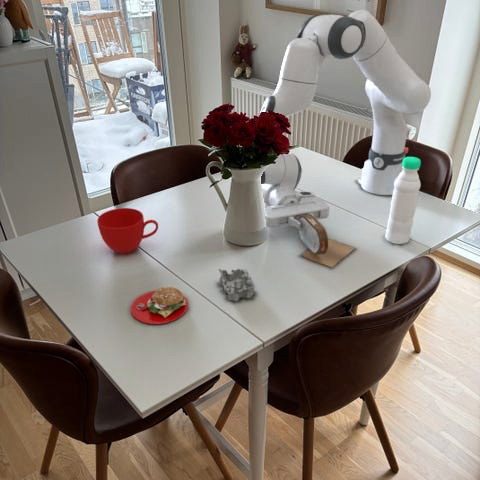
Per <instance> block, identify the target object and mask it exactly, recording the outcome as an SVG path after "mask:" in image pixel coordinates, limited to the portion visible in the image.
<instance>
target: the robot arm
mask: <svg viewBox="0 0 480 480" xmlns="http://www.w3.org/2000/svg"><path fill="white" fill-rule="evenodd" d="M393 45H394V44H393V43H392V42H391V40H390V38H389V36H388V35H387V33H386V32H385V30H384V27H382V26H381V24H380V23H379V21H378V20H377V19H376V18H375V17H374V16H373V15H372V13H370V11H368V10H367V9H357V10H355V11H353V12H351V13H350V14H348V15H345V16H344V15H340V14H315V15H311V16H310V17H308V18H306V19H305V20H304V21H303V23H302V25H301V27H300V29H299V31H298V34H297V36H296V38H294V39H293V40H291V41H290V42H289V44H288V45H287V47H286V50H285V52H284V56H283V60H282V63H281V67H280V72H279V77H278V82H277V86H276V87H275V89H274V91H273V93H272V94H271V95H270V96H268V97H267V98H266V99H265V100H264V102H263V104H262V106H261V109H260V113H261V112H267V111H268V110H272V111H273V112H275V113H279V114H282V115H284V116H286V117H285V118H287V117H290V116H293V115H296V114H300V113H301V112H303V111H304V110H306V109H307V108H308V107H309V106H310V105H311V104H312V103H313V100H314V98H315V96H316V95H315V94H316V90H317V85H318V79H319V72H320V69H321V65H322V64H323V62H324V60H325V59H337V60H347V59H349V58H353V60H354V62H355V63H356V65H357V67H358V68H359V70H360V71H361V73H362V74H363V75H364V77H365V78H366V81H365V85H364V86H365V87H364V89H365V93H366V95H367V97H368V99H369V102H370V106H371V111H372V119H373V132H372V141H371V147H370V148H369V151H368V159H366V160H365V161H364V165H363V168H361V171H362V173H361V177H359V178H358V179H357V183H358V184H359V185H361V189H362V190H364V191H366V192H367V193H370V194H373V195H379V196H392V195H393V191H394V188H395V187H394V183H395V180H396V179H397V177H398V176H399V174H400V173H401V172H402V171H403V168H402V162H403V159H404V158H406V154H408V152H409V147H406V142H407V136H408V125H407V123H406V121H405V119H404V115H403V114H405V115H417V114H420V113H422V112H424V110H426V108H427V107H428V105H429V104H430V101H431V97H432V91H431V90H432V89H431V87H430V86H429V84H427V83H426V82H425V81H424V80H423V79H421V78H420V77H419V76H418V75H417V74H416V72H415V71H414V70H413V68H411V66H410V65H408V63H406V61H405V60H404V59H403V58H402V57H401V56H400V55H399V53H398V52H397V50H396V49H395V47H394V46H393ZM260 113H259V114H260ZM302 169H303V168H302V164H301V162H300V160H299V158H298V157H297V156H296V155H295V154H294V153H288V154H283V155H280V156H279V157H278V158H277V159H276V163H275V164H271V165H269V166H268V167H267V168H266V169H265V171H264V172H263V174H262V176H261V185H262V191H263V198H264V201H263V202H264V203H265V204H266V207H264V208H265V215H266V216H265V219H266V224H265V226H266V227H267V228H269V229H275V228H280V227H285V226H291V227H295V228H296V229H297V230H298V229H299V228H303V222H301V220H300V221H299V218H300V216H302V215H307V214H312V215H313V216H314V217H315V218H316V220H317V221H319V220H323V219H327V218H329V215H330V206H329V204H328V203H327V202H325V201H324V200H323V199H322V198H321V197H317V196H316V195H315V193H314V192H313V191H299V190H296V189H297V187H298V185H299V183H300V181H301V178H302V173H303V170H302Z"/></svg>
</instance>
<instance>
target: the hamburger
mask: <svg viewBox="0 0 480 480" xmlns="http://www.w3.org/2000/svg"><path fill="white" fill-rule="evenodd" d="M188 308H189V301H188V299H187V298H186V296H184V295H183V292H182V291H181V290H180V289H179V288H176V287H174V286H162V287H160V288H157V289H156V290H152V291H149V292H146V293H144V294H143V293H142V294H141V295H139V296H138V297H137V298H136V299H135V300H133V302H132V304H131V306H130V312H131V315H132V317H134V318H135V319H136V320H138V321H140V322H141V323H145V324H149V325H150V324H151V325H161V324H166V323H170V322H173V321H175V320H177V319H179V318H180V317H182V316H184V314H185V313H186V312H187V310H188Z"/></svg>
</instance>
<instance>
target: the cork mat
mask: <svg viewBox="0 0 480 480" xmlns="http://www.w3.org/2000/svg"><path fill="white" fill-rule="evenodd" d="M355 250H356V248H355V247H354V246H350V245H347V244H345V243H341V242H339V241H336V240H333V239H330V238H328V249H327V252H326V253H325V254H319V255H314V254H313V253H312V252H311V251H310V250H309V249H308V250H307V251H305V252H304V253H303V254H301V257H302V258H305V259H306V260H310V261H312V262H315V263H318V264H320V265H323V266H326V267H328V268H330V269H333V268H334V267H335V266H337V265H338V264H339V263H340V262H341V261H343V260H344V259H345V258H346V257H348V255H350V254H351V253H352V252H353V251H355Z"/></svg>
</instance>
